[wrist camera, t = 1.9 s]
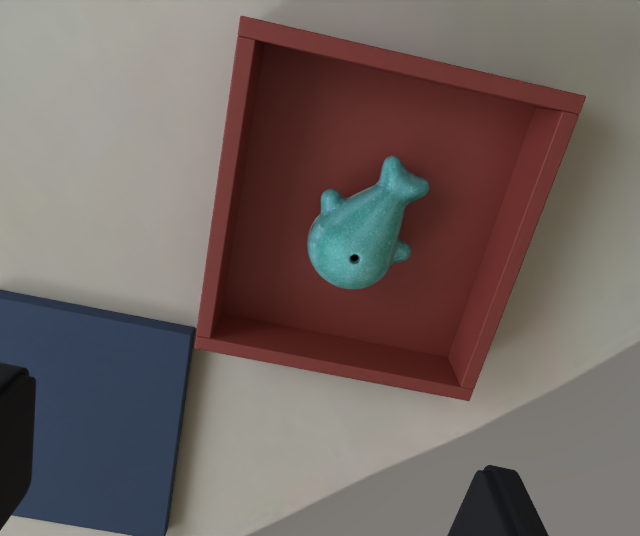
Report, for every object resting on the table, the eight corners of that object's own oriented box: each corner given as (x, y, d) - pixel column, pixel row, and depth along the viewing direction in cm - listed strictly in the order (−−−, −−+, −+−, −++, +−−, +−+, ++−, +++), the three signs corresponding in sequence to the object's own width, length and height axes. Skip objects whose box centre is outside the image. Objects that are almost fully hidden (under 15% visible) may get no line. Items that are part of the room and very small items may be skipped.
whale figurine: (284, 235, 28) (277, 258, 24) (369, 130, 26) (375, 139, 22) (363, 295, 29) (368, 325, 26) (450, 199, 27) (468, 218, 24)
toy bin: (252, 23, 24) (240, 15, 21) (553, 93, 25) (586, 96, 22) (208, 319, 30) (193, 348, 27) (454, 367, 31) (469, 401, 28)
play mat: (-4, 288, 30) (-15, 295, 29) (195, 327, 31) (191, 335, 30) (1, 500, 36) (-8, 512, 35) (167, 529, 37) (163, 540, 36)
